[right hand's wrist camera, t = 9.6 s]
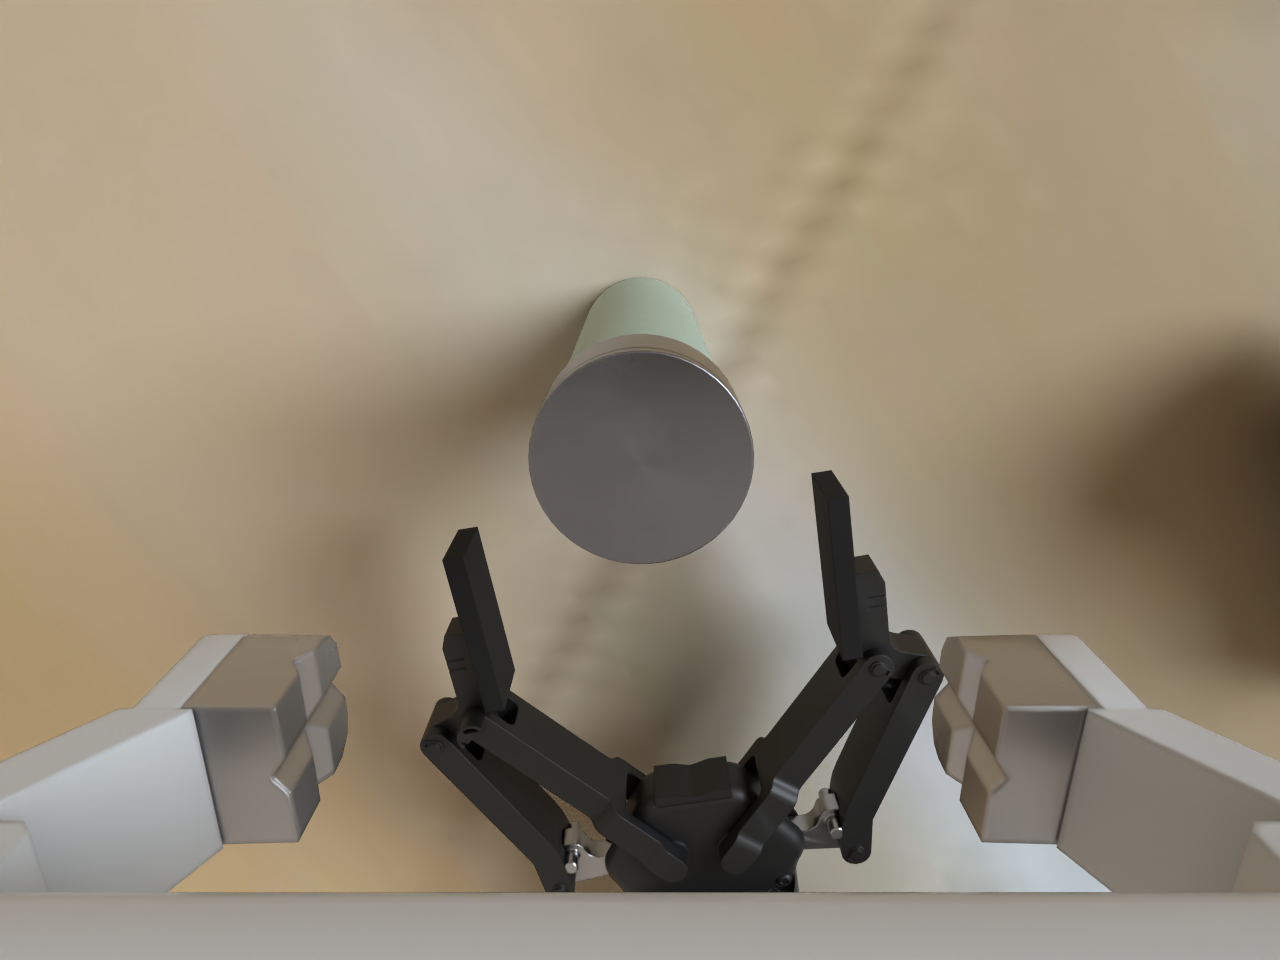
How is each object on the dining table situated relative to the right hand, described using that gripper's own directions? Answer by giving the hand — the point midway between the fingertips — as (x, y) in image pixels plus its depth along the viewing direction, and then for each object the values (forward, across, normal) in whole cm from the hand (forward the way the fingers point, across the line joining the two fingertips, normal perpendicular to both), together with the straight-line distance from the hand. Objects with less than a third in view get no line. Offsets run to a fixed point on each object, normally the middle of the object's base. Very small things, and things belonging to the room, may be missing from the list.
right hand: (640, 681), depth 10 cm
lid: (+9, 0, 0) cm, 9 cm away
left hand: (+18, 0, +5) cm, 19 cm away
